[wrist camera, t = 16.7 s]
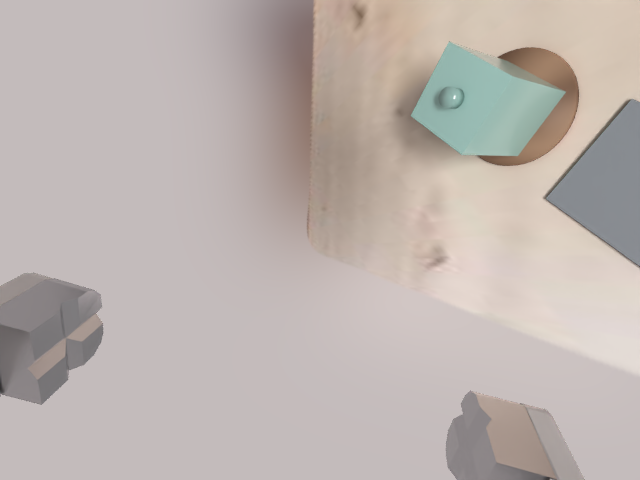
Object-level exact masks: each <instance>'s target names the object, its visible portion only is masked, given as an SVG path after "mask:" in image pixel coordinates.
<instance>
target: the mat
mask: <svg viewBox="0 0 640 480" xmlns="http://www.w3.org/2000/svg"><path fill="white" fill-rule="evenodd" d="M546 199H547V200H548V201H550V202H551V203H552V204H554V205H555V206H557V207H558V208H559V209H561V210H562V211H563V212H565V213H566V214H568V215H569V216H570V217H572V218H573V219H575V220H576V221H577V222H579V223H580V224H582V225H583V226H584V227H586V228H587V229H588V230H590V231H591V232H593V233H594V234H595V235H597V236H598V237H600V238H601V239H602V240H604V241H605V242H607V243H608V244H609V245H611V246H612V247H614V248H615V249H616V250H618V251H619V252H620V253H622V254H623V255H625V256H626V257H627V258H629V259H630V260H632V261H633V262H634V263H636V264H637V265H639V266H640V102H638V101H636V100H634V99H631V100H630V102H629V103H628V104H627V105H626V106H625V107H624V109H623V110H622V111H621V112H620V113H619V114H618V116H617V117H616V118H615V119H614V120H613V121H612V123H611V124H610V125H609V126H608V127H607V128H606V129H605V131H604V132H603V133H602V134H601V135H600V136H599V138H598V139H597V140H596V141H595V142H594V143H593V145H592V146H591V147H590V148H589V149H588V150H587V151H586V153H585V154H584V155H583V156H582V157H581V158H580V160H579V161H578V162H577V163H576V164H575V165H574V167H573V168H572V169H571V170H570V171H569V172H568V173H567V175H566V176H565V177H564V178H563V179H562V180H561V182H560V183H559V184H558V185H557V186H556V187H555V189H554V190H553V191H552V192H551V193H550V194H549V195H548V197H547V198H546Z"/></svg>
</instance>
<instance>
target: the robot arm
mask: <svg viewBox="0 0 640 480" xmlns="http://www.w3.org/2000/svg"><path fill="white" fill-rule="evenodd" d="M101 307H102V303H101V295H100V294H99V293H98V292H96V291H95V290H92V289H89V288H85V287H81V286H78V285H75V284H72V283H68V282H65V281H61V280H58V279H52V278H50V277H46V276H43V275H39V274H36V273H25V274H22V275H20V276H18V277H17V278H15V279H13V280H11V281H9V282H7V283H5V284H3V285H1V286H0V394H2V395H6V396H10V397H14V398H18V399H21V400H26V401H29V402H33V403H37V404H41V405H42V404H43V403H44V402H45V401H46V400H47V399H48V398H49V397H50V396H51V395H52V394H53V393H55V391H57V390H58V389H59V388H60V387H61V386H62V385H63V384H64V383H65V382H66V381H67V380H68V375H69V370H71V369H74V368H77V367H79V366H82V365H84V364H85V363H86V362H87V361H88V360H89V359H90V358H91V357H92V356H93V355H94V354H95V352H96V350H97V348H98V346H99V345H100V343H101V340H102V336H103V323H102V321H101V320H100V319H99V317H98V316H97V314H96V313H97V312H98V311H99V310H100V308H101ZM0 396H1V395H0ZM461 407H462V411H463V415H461V416H458V417H457V418H455V419H453V421H452V423H451V426H450V428H449V430H448V435H447V441H446V457H447V464H448V468H449V469H450V471H451V472H452V473H453V475H454V476H455V478H456V479H457V480H585V479H584V478H583V476H582V474H581V472H580V470H579V468H578V466H577V464H576V462H575V460H574V458H573V456H572V454H571V452H570V450H569V448H568V446H567V444H566V442H565V440H564V438H563V436H562V434H561V432H560V430H559V429H558V426H557V424H556V422H555V420H554V418H553V417H552V415H551V414H550V413H549V412H548V411H547V410H545V409H541V408H537V407H533V406H529V405H525V404H521V403H520V404H518V403H515V402H511V401H507V400H503V399H500V398H496V397H492V396H488V395H484V394H481V393H477V392H473V391H470V392H469V393H467V394H466V395H465V397H464V399H463V401H462V403H461Z"/></svg>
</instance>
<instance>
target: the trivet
mask: <svg viewBox="0 0 640 480" xmlns="http://www.w3.org/2000/svg"><path fill="white" fill-rule="evenodd" d="M498 58H500V59H503V60H506V61H509V62H510V63H512V64H514V65H516V66H518V67H520V68H522V69H524V70H526V71H527V72H529V73H531V74H533V75H535V76H537V77H539V78H541V79H543V80H545V81H546V82H548V83H550V84H552V85H554V86H556V87H558V88H560V89H562V90H563V91H565V92H566V93H565V94H564V95H563V97H562V98H561V99H560V101H559V102H558V103H557V105H556V106H555V107H554V109H553V110H552V111H551V113H550V114H549V115H548V117H547V118H546V119H545V121H544V122H543V123H542V125H541V126H540V127H539V129H538V130H537V131H536V133H535V134H534V135H533V137H532V138H531V139H530V141H529V142H528V143H527V145H526V146H525V147H524V149H523V150H522V151H521V153H520V154H519V155H518V156H490V155H478V156H479V157H480V158H482V159H484V160H485V161H487V162H490V163H493V164H497V165H505V166H512V165H520V164H525V163H528V162H531V161H534V160H536V159H538V158H540V157H541V156H543V155H545V154H546V153H548V152H549V151H550V150H551V149H553V148H554V147H555V146H556V145H557V144H558V143H559V142H560V141H561V140H562V138H563V137H564V136H565V135H566V133H567V131H568V130H569V128H570V127H571V124H572V122H573V120H574V118H575V115H576V112H577V107H578V102H579V89H578V83H577V79H576V76H575V74H574V72H573V70H572V68H571V67H570V66H569V64H568V63H567V62H566V61H565V60H564V59H563V58H561V57H560V56H558V55H557V54H555V53H553V52H551V51H548V50H545V49H541V48H533V47H532V48H521V49H516V50H513V51H510V52H508V53H505V54H503V55H501V56H500V57H498Z"/></svg>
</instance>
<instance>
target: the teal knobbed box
mask: <svg viewBox="0 0 640 480" xmlns="http://www.w3.org/2000/svg"><path fill="white" fill-rule="evenodd" d="M565 93H566V92H565V91H563V90H562V89H560V88H558V87H556V86H554V85H552V84H550V83H548V82H546V81H545V80H543V79H541V78H539V77H537V76H535V75H533V74H531V73H529V72H527V71H526V70H524V69H522V68H520V67H518V66H516V65H514V64H512V63H510V62H509V61H506V60H503V59H500V58H497V57H494V56H491V55H488V54H485V53H482V52H479V51H476V50H473V49H470V48H467V47H464V46H461V45H459V44H456V43H453V42H450V41H449V43H448V45H447V47H446V49H445V51H444V52H443V54H442V56H441V58H440V60H439V62H438V64H437V66H436V68H435V70H434V72H433V74H432V76H431V78H430V79H429V81H428V83H427V85H426V87H425V89H424V91H423V93H422V95H421V97H420V99H419V101H418V103H417V105H416V107H415V108H414V110H413V112H412V114H411V117H413V118H414V119H415V120H417V121H418V122H419V123H421V124H422V125H423V126H425V127H426V128H427V129H428V130H430V131H431V132H432V133H434V134H435V135H436V136H438V137H439V138H440V139H442V140H443V141H444V142H446V143H447V144H448V145H449V146H451V147H452V148H453V149H455V150H456V151H457V152H459V153H460V154H461V155H490V156H518V155H519V154H520V153H521V151H522V150H523V149H524V147H525V146H526V145H527V143H528V142H529V141H530V139H531V138H532V137H533V135H534V134H535V133H536V131H537V130H538V129H539V127H540V126H541V125H542V123H543V122H544V121H545V119H546V118H547V117H548V115H549V114H550V113H551V111H552V110H553V109H554V107H555V106H556V105H557V103H558V102H559V101H560V99H561V98H562V97H563V95H564V94H565Z"/></svg>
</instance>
